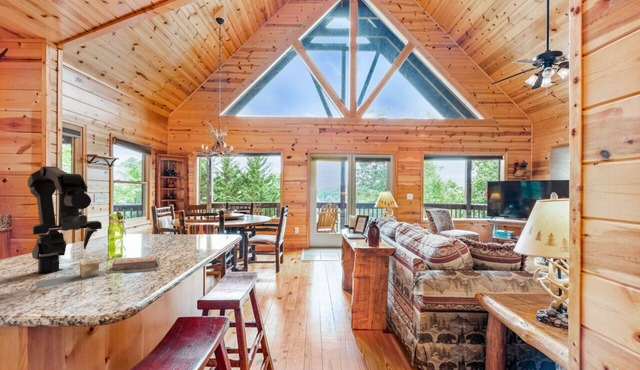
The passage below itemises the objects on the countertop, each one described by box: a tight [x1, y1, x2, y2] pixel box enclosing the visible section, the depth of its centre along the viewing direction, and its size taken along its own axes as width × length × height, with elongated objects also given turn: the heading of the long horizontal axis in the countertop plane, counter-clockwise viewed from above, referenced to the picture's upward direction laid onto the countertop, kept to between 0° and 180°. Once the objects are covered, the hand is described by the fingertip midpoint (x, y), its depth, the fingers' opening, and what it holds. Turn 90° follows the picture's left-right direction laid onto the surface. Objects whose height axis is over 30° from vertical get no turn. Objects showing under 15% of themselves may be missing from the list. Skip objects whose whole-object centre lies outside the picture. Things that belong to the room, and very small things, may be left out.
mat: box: [35, 270, 107, 289], centre depth 108 cm, size 19×9×1 cm, turn 136°
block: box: [79, 259, 100, 279], centre depth 111 cm, size 5×5×5 cm
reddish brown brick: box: [105, 256, 162, 274], centre depth 122 cm, size 18×5×10 cm
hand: (68, 250), depth 107 cm, fingers open, 9 cm apart
